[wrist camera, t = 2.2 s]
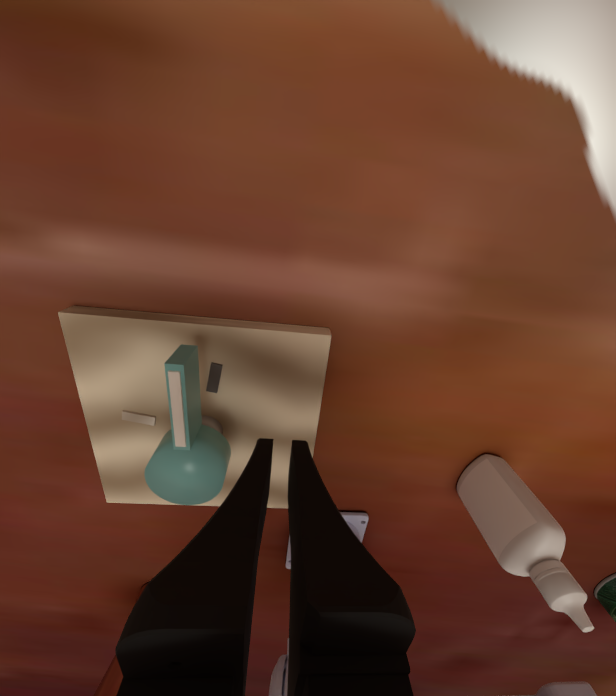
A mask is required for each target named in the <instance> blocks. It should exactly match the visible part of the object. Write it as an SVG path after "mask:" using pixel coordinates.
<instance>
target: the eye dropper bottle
mask: <svg viewBox="0 0 616 696" xmlns="http://www.w3.org/2000/svg"><path fill="white" fill-rule="evenodd" d="M457 493H458V495H459V497H460V498H461V500H462V502H463V504H464V505H465V507H466V509H467V510H468V512H469V514H470V516H471V517H472V519H473V521H474V522H475V524H476V526H477V527H478V529H479V531H480V532H481V534H482V536H483V538H484V539H485V541H486V543H487V544H488V546H489V548H490V549H491V551H492V553H493V554H494V556H495V557H496V559H497V561H498V562H499V564H500V565H501V566H502V568H503V569H504V570H506V571H507V572H509V573H511V574H514V575H518V576H530V577H531V579H532V580H533V582H534V583H535V585H536V586H537V588H538V589H539V591H540V593H541V594H542V596H543V597H544V599H545V600H546V602H547V603H548V605H549V606H550V608H551V609H553V610H555V611H558V612H564V613H566V614H567V615H569V617H570V618H571V619H572V620H573V621H574V622H575V623H576V624H577V625H578V627H579V628H580V629H581V630H582V631H583V632H589V631H592V630H593V629H594V627H593V625H592V623H591V621H590V619H589V618H588V616H587V614H586V612H585V610H584V607H583V605H584V603H585V602H586V600H587V594H586V593H585V592H584V591H583V589H582V588H581V587H580V585H579V584H578V583H577V581H576V580H575V579H574V578H573V576H572V575H571V574H570V572H569V571H568V570H567V568H566V567H565V566H564V565H563V563H562V562H560V559H561V557H562V554H563V551H564V547H565V541H566V539H565V533H564V531H563V529H562V528H561V526H560V525H559V524H558V522H557V521H556V520H555V519H554V518H553V516H552V515H551V514H550V513H549V511H548V510H547V509H546V508H545V507H544V506H543V504H542V503H541V502H540V501H539V500H538V499H537V497H536V496H535V495H534V494H533V493H532V491H531V490H530V489H529V488H528V487H527V486H526V484H525V483H524V482H523V481H522V480H521V479H520V477H519V476H518V475H517V474H516V473H515V472H514V470H513V469H512V468H511V467H510V466H509V465H508V463H507V462H506V461H505V460H504V459H502V458H500V457H497V456H493V455H489V454H484V455H482V456H480V457H478V458H477V459H476V460H474V461H473V462H472V463H471V464H470V465H469V466H468V467H467V468H466V469H465V470H464V471H463V473H462V475H461V476H460V478H459V480H458V483H457Z"/></svg>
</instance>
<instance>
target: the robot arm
mask: <svg viewBox="0 0 616 696" xmlns="http://www.w3.org/2000/svg"><path fill="white" fill-rule="evenodd" d="M273 440H274V439H267V438H259V439H258V440H257V442H256V445H255V448H254V450H253V453H252V455H251V457H250V459H249V461H248V463H247V465H246V467H245V468H244V470H243V472H242V474H241V476H240V477H239V479H238V480H237V482H236V484H235V485H234V487H233V488H232V490H231V491H230V493H229V494H228V496H227V497H226V499H225V500H224V501H223V503H222V504H221V506H220V507H219V508H218V510H217V511H216V512H215V513H214V515H213V516H212V517H211V518H210V520H209V521H208V522H207V523H206V525H205V526H204V527H203V528H202V529H201V530H200V532H199V533H198V534H197V535H196V536H195V537H194V538H193V539H192V540H191V541H190V542H189V544H188V545H187V546H186V547H185V548H184V549H183V550H182V551H181V552H180V553H179V554H178V555H177V556H176V557H175V558H174V559H173V560H172V561H171V562H170V563H169V564H168V565H167V566H166V567H165V568H164V569H163V570H161V571H160V572H159V573H158V574H157V575H156V576H155V577H154V578H153V579H152V580H151V581H150V582H149V583H148V584H147V585H146V587H145V589H144V590H143V592H142V594H141V595H140V597H139V599H138V600H137V602H136V604H135V606H134V608H133V610H132V612H131V614H130V615H129V617H128V620H127V622H126V624H125V627H124V629H123V632H122V634H121V636H120V639H119V641H118V644H117V646H116V657H117V660H118V663H119V666H120V669H121V671H122V674H123V679H122V682H121V684H120V687H119V690H118V693H117V695H116V696H245V687H246V676H247V666H248V655H249V645H250V635H251V624H252V614H253V604H254V594H255V584H256V574H257V564H258V556H259V549H260V543H261V538H262V532H263V526H264V521H265V515H266V510H267V504H268V498H269V490H270V478H271V466H272V453H273ZM288 513H289V530H290V534H289V542H288V550H287V557H286V568H287V569H291V582H290V621H289V638H288V648H287V654H286V655H281V656H280V658H279V660H278V662H277V664H276V666H275V668H274V670H273V673H272V677H271V682H270V690H269V696H413V692H412V688H411V684H410V680H409V676H408V674H409V673H410V666H409V662H408V658H407V655H406V652H407V650H408V648H409V646H410V644H411V642H412V640H413V638H414V635H415V632H416V629H415V626H414V621H413V618H412V615H411V612H410V609H409V607H408V604H407V602H406V599H405V597H404V595H403V593H402V590H401V588H400V586H399V585H398V584H397V583H396V582H395V581H394V580H393V579H392V578H391V577H390V576H389V575H388V574H387V573H386V571H385V570H384V569H383V568H382V567H381V566H380V565H379V564H378V563H377V561H376V560H375V559H374V558H373V557H372V555H371V554H370V553H369V552H368V551H367V549H366V548H365V547H364V546H363V544H362V540H363V536H364V533H365V530H366V526H367V523H368V519H369V517H368V514H366V513H355V512H339V510H338V509H337V507H336V505H335V504H334V502H333V500H332V498H331V497H330V495H329V493H328V491H327V489H326V487H325V485H324V483H323V481H322V479H321V477H320V475H319V473H318V470H317V468H316V466H315V463H314V461H313V458H312V455H311V452H310V449H309V446H308V442H307V441H305V440H292V446H291V455H290V464H289V473H288ZM518 696H597V695H596V694H595V692H594V690H593V689H592V687H591V686H590V684H588V683H587V682H554V683H549V684H546V685H544V686H542V687H541V688H540V689H539V690H538V691H537V694H536V695H518Z"/></svg>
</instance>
